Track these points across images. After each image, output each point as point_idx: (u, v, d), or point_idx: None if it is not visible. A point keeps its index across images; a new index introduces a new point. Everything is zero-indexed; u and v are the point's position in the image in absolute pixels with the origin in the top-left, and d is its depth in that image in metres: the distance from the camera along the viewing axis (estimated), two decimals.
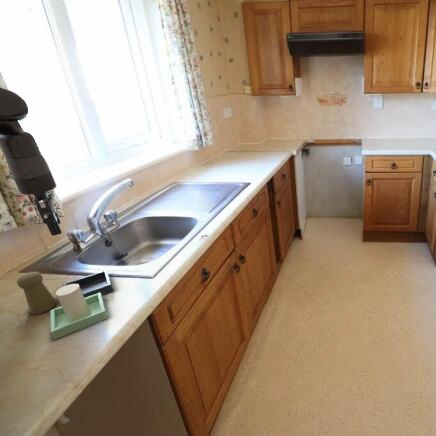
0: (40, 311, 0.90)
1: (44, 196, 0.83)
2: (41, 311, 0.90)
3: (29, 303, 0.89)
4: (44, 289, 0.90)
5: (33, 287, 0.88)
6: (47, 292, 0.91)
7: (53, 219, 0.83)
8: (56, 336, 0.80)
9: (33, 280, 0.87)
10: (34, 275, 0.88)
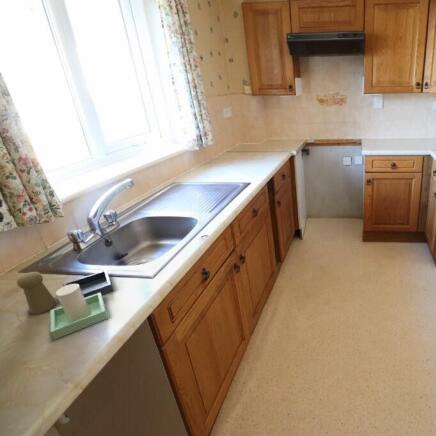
0: (40, 311, 0.90)
1: None
2: (41, 311, 0.90)
3: (29, 303, 0.89)
4: (44, 289, 0.90)
5: (33, 287, 0.88)
6: (47, 292, 0.91)
7: (1, 203, 0.91)
8: (56, 336, 0.80)
9: (32, 280, 0.87)
10: (34, 275, 0.88)
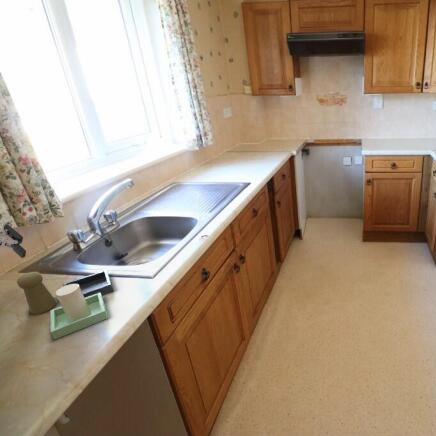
0: (40, 311, 0.90)
1: None
2: (41, 311, 0.90)
3: (29, 303, 0.89)
4: (44, 289, 0.90)
5: (33, 287, 0.88)
6: (47, 292, 0.91)
7: None
8: (56, 336, 0.80)
9: (32, 280, 0.87)
10: (34, 275, 0.88)
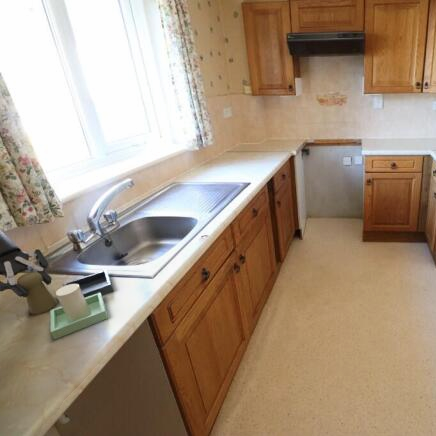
0: (40, 311, 0.90)
1: None
2: (41, 311, 0.90)
3: (29, 303, 0.89)
4: (44, 289, 0.90)
5: (33, 287, 0.88)
6: (47, 292, 0.91)
7: (46, 266, 0.94)
8: (56, 336, 0.80)
9: (32, 280, 0.87)
10: (34, 275, 0.88)
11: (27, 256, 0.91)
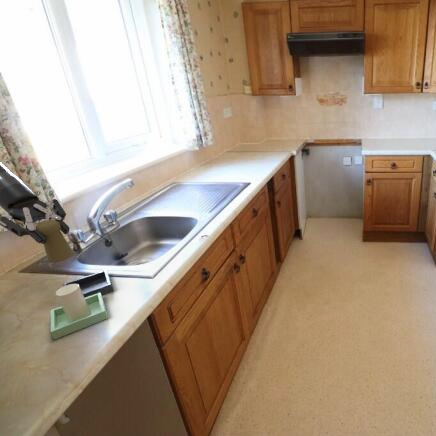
0: (58, 260, 0.89)
1: None
2: (59, 260, 0.89)
3: (47, 251, 0.88)
4: (62, 238, 0.89)
5: (51, 234, 0.87)
6: (64, 242, 0.90)
7: None
8: (56, 336, 0.80)
9: (51, 227, 0.86)
10: (52, 222, 0.87)
11: (45, 205, 0.90)
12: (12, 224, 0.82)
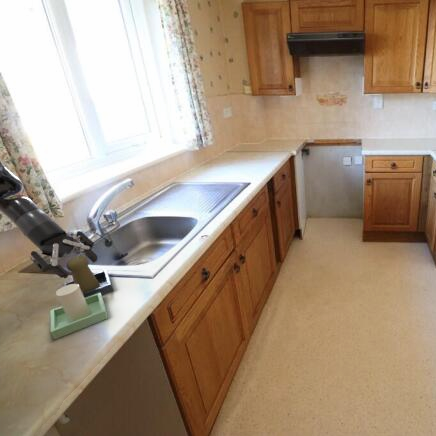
0: None
1: None
2: None
3: None
4: (90, 272, 0.96)
5: (80, 270, 0.94)
6: (92, 276, 0.97)
7: None
8: (56, 336, 0.80)
9: (81, 263, 0.93)
10: (81, 258, 0.94)
11: (72, 240, 0.96)
12: (39, 260, 0.88)
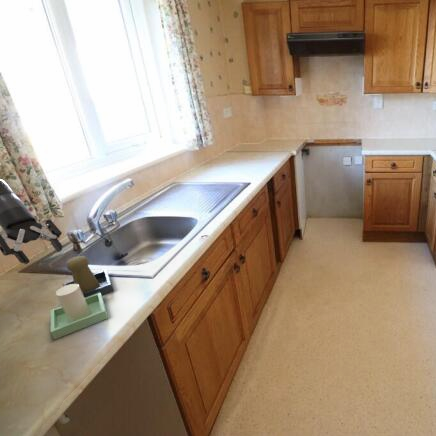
0: None
1: None
2: None
3: None
4: (90, 272, 0.96)
5: (80, 270, 0.94)
6: (92, 276, 0.97)
7: None
8: (56, 336, 0.80)
9: (81, 263, 0.93)
10: (81, 258, 0.94)
11: (40, 227, 0.98)
12: (2, 243, 0.90)
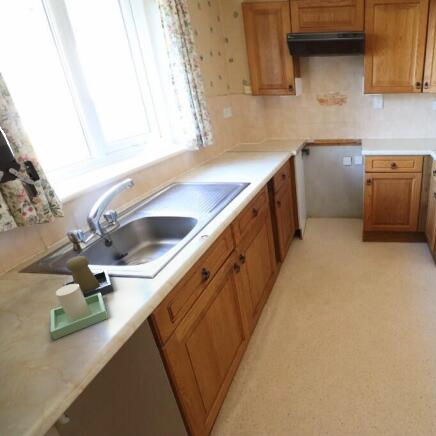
0: None
1: None
2: None
3: None
4: (90, 272, 0.96)
5: (80, 270, 0.94)
6: (92, 276, 0.97)
7: None
8: (56, 336, 0.80)
9: (81, 263, 0.93)
10: (81, 258, 0.94)
11: (19, 169, 0.90)
12: None
